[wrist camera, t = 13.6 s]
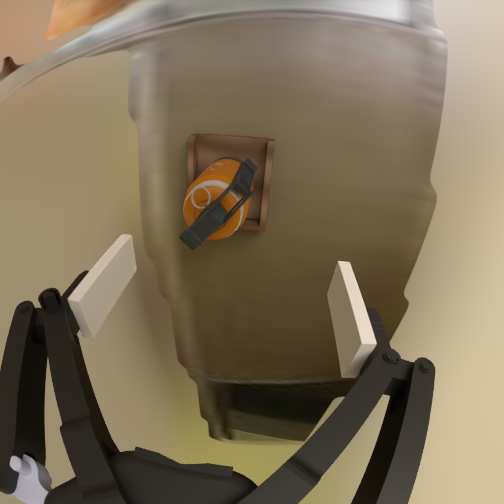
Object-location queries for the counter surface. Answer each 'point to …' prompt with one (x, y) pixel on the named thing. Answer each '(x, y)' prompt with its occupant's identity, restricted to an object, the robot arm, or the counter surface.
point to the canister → (218, 200)
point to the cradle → (256, 149)
